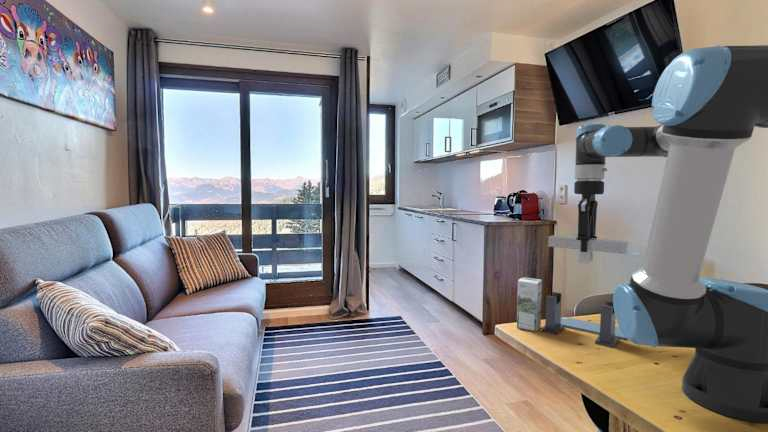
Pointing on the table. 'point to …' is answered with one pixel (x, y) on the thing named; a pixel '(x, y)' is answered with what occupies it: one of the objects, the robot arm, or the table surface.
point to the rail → (595, 244)
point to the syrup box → (529, 304)
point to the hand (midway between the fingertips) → (585, 261)
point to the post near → (607, 326)
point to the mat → (587, 326)
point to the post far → (553, 314)
